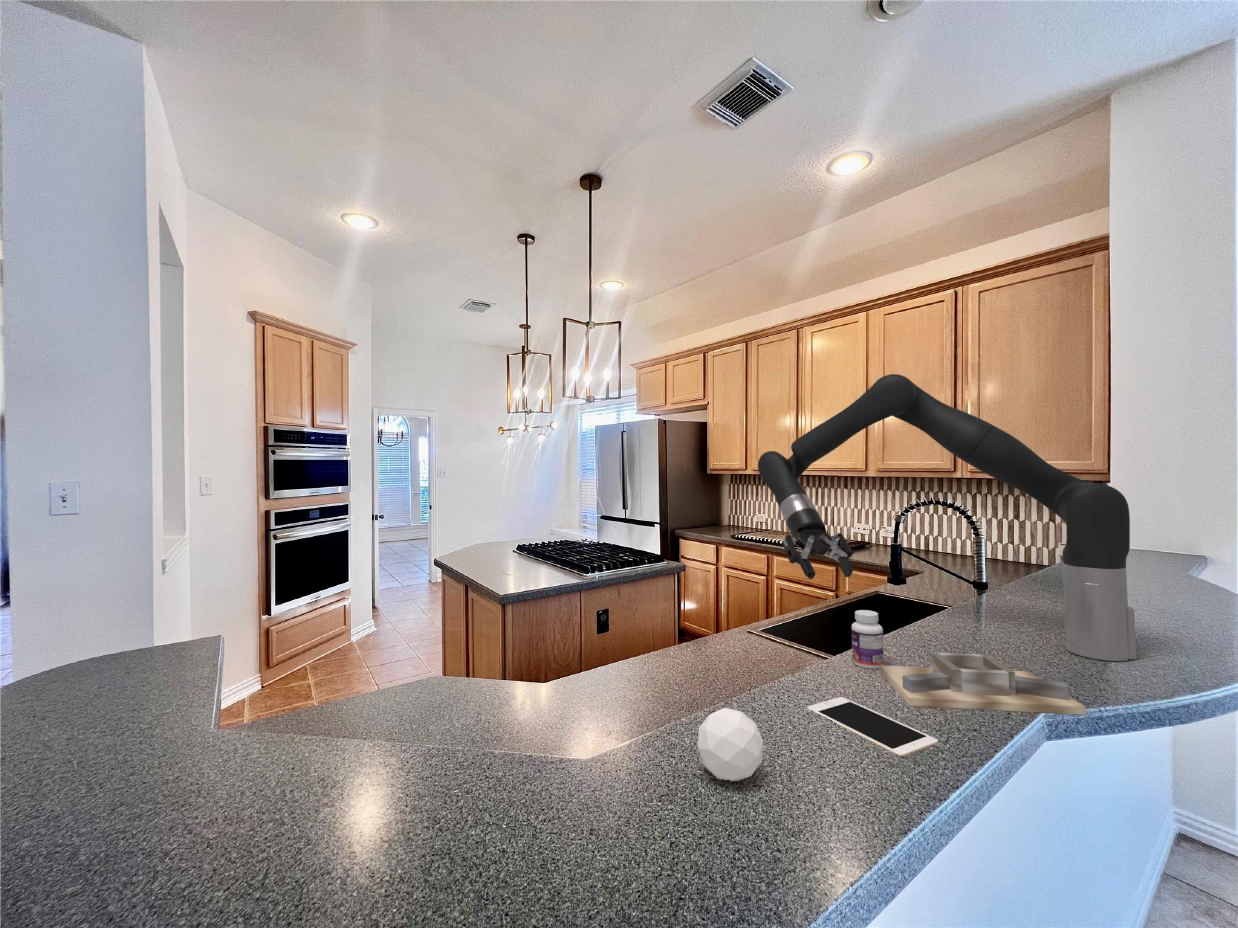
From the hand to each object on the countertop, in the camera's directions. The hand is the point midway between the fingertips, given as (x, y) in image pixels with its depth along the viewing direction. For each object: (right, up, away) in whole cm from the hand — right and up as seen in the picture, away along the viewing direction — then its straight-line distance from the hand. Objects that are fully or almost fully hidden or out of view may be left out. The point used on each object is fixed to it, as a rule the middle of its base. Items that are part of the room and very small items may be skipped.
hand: (831, 575), depth 111 cm
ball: (-31, -14, -47) cm, 59 cm away
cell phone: (-9, -14, -35) cm, 39 cm away
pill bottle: (+2, -14, -12) cm, 19 cm away
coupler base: (+13, -14, -25) cm, 31 cm away
